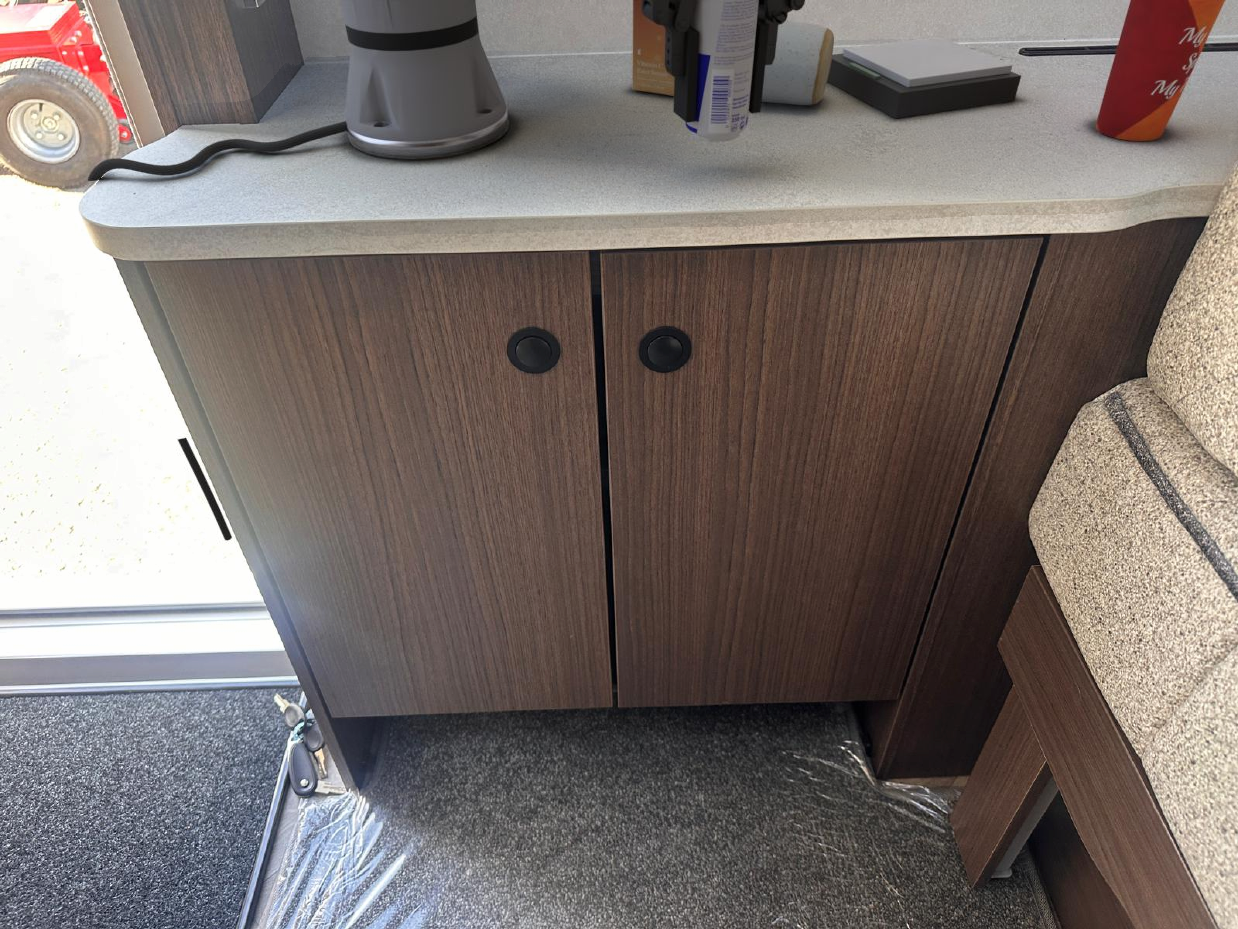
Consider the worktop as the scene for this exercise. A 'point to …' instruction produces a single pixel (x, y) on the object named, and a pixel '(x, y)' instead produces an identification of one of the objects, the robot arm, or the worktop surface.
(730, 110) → the beverage can
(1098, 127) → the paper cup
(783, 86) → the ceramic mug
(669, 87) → the small box
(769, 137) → the worktop surface
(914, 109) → the scale
